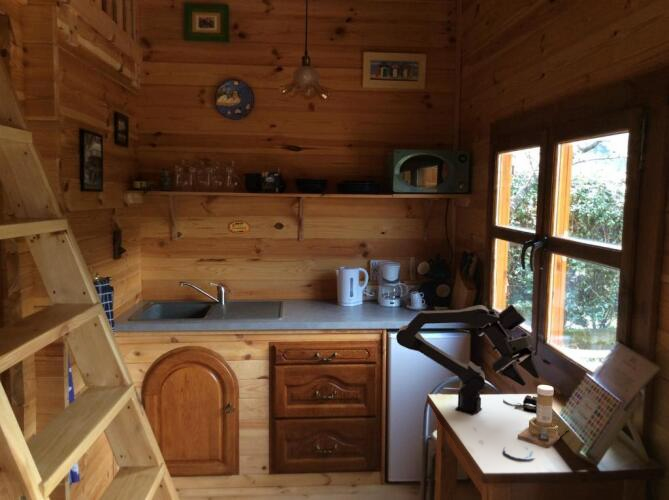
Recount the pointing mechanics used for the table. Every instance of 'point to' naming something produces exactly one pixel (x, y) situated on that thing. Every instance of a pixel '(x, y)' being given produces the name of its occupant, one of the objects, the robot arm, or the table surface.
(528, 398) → the black angular block
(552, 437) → the stand
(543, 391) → the sprinkles bottle
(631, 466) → the table surface
